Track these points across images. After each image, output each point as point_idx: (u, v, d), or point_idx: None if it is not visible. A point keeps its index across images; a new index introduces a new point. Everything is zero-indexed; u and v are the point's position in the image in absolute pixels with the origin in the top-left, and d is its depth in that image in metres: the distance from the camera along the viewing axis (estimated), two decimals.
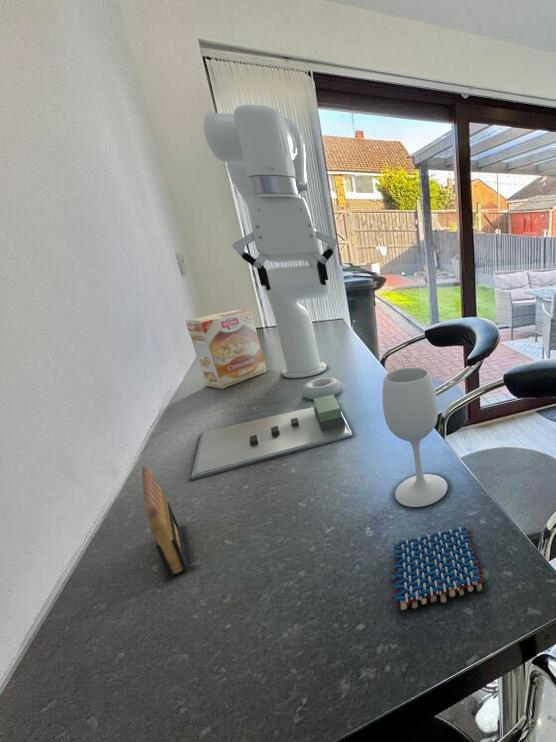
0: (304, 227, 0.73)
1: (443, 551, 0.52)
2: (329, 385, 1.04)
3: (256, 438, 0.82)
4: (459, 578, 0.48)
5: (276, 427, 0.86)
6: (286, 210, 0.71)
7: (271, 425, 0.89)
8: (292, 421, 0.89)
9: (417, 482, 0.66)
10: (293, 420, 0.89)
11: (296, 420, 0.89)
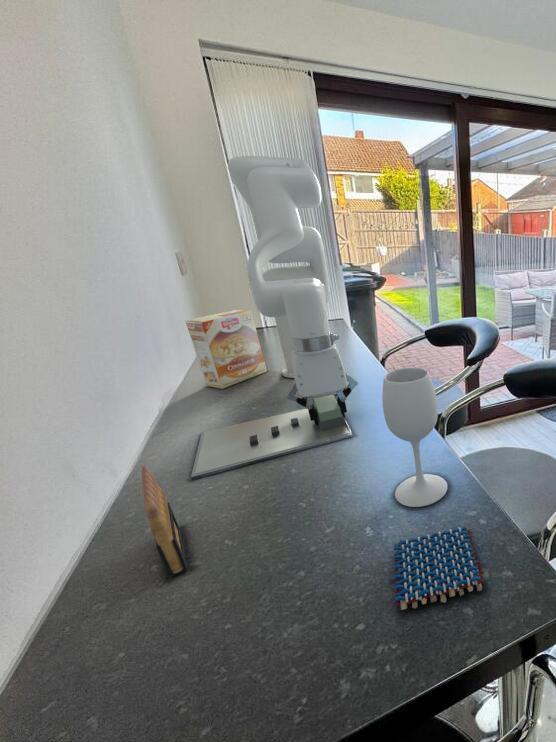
0: (336, 371, 0.87)
1: (443, 551, 0.52)
2: None
3: (256, 438, 0.82)
4: (459, 578, 0.48)
5: (276, 427, 0.86)
6: (323, 361, 0.84)
7: (271, 425, 0.89)
8: (292, 421, 0.89)
9: (417, 482, 0.66)
10: (293, 420, 0.89)
11: (296, 420, 0.89)
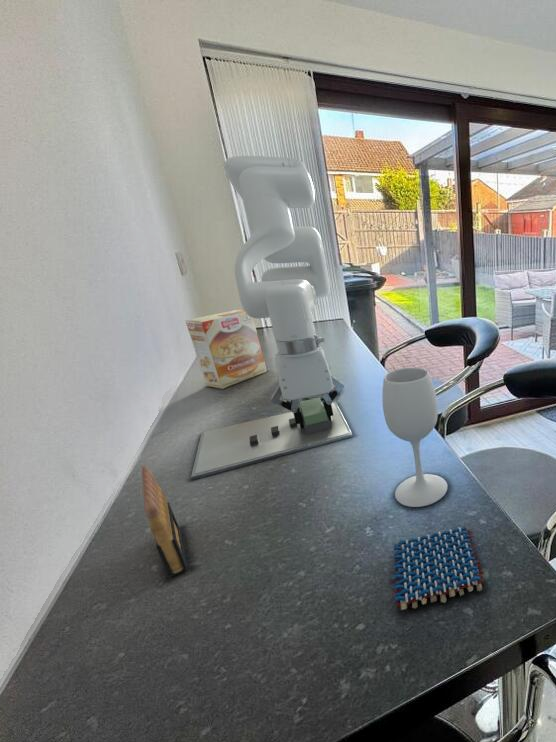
0: (322, 373, 0.85)
1: (443, 551, 0.52)
2: None
3: (256, 438, 0.82)
4: (459, 578, 0.48)
5: (276, 427, 0.86)
6: (307, 363, 0.83)
7: (271, 425, 0.89)
8: (290, 421, 0.89)
9: (417, 482, 0.66)
10: (292, 420, 0.89)
11: (294, 420, 0.89)
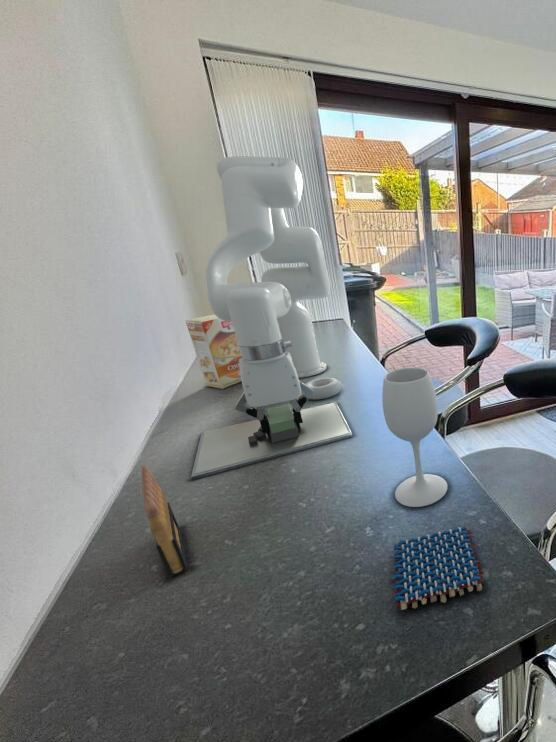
0: (289, 379, 0.82)
1: (443, 551, 0.52)
2: (329, 385, 1.04)
3: (255, 438, 0.82)
4: (459, 578, 0.48)
5: (259, 432, 0.85)
6: (273, 369, 0.80)
7: None
8: None
9: (417, 482, 0.66)
10: None
11: None
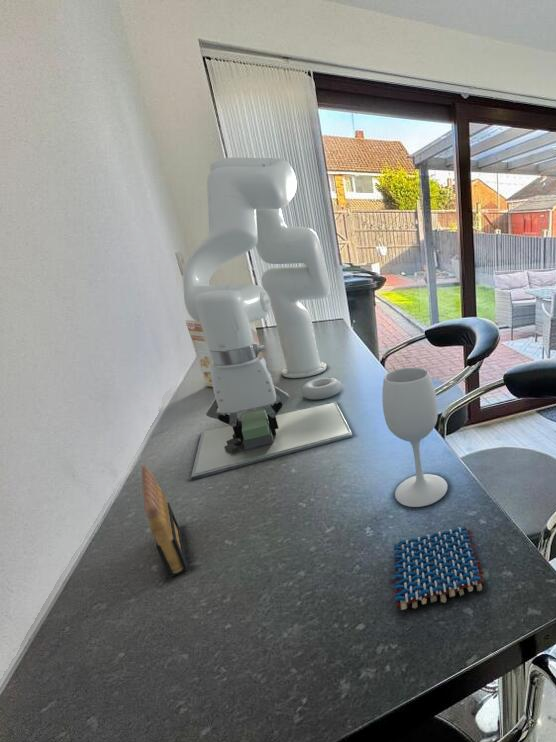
0: (262, 385, 0.80)
1: (443, 551, 0.52)
2: (329, 385, 1.04)
3: (235, 445, 0.80)
4: (459, 578, 0.48)
5: (233, 439, 0.82)
6: (245, 374, 0.78)
7: None
8: None
9: (417, 482, 0.66)
10: None
11: None
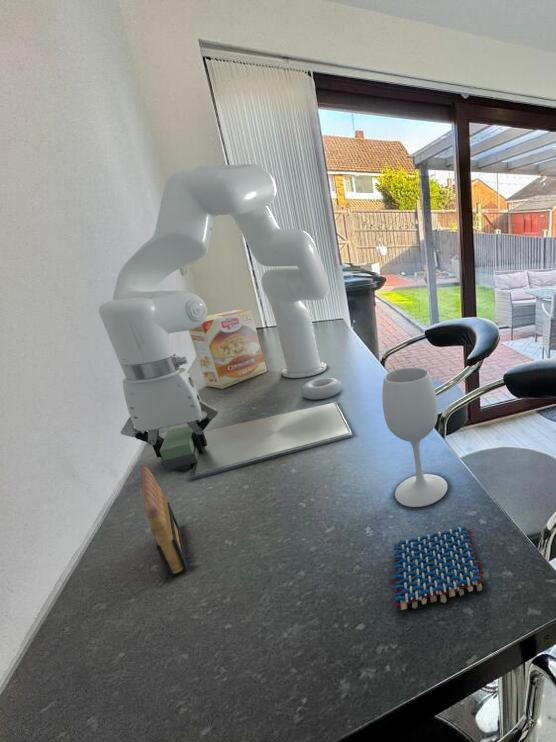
0: (184, 400, 0.74)
1: (443, 551, 0.52)
2: (329, 385, 1.04)
3: None
4: (459, 578, 0.48)
5: None
6: (162, 389, 0.72)
7: (271, 425, 0.89)
8: None
9: (417, 482, 0.66)
10: None
11: None
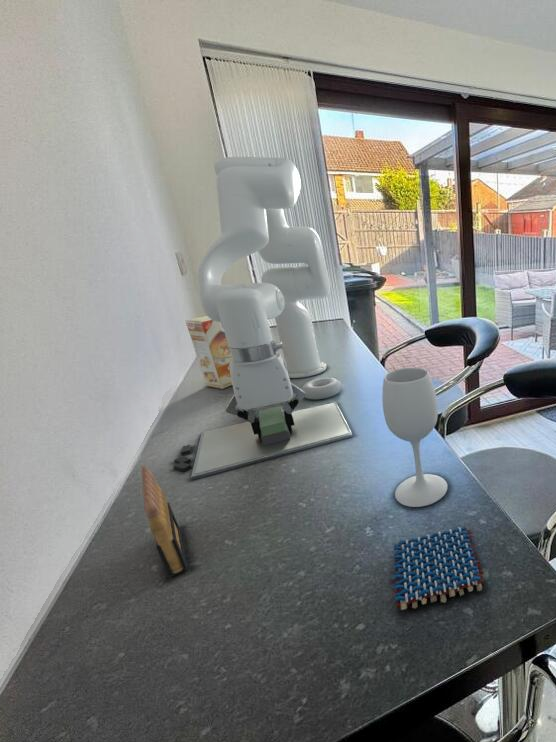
0: (280, 381, 0.81)
1: (443, 551, 0.52)
2: (329, 385, 1.04)
3: (186, 464, 0.75)
4: (459, 578, 0.48)
5: (182, 457, 0.78)
6: (263, 371, 0.79)
7: None
8: None
9: (417, 482, 0.66)
10: None
11: None
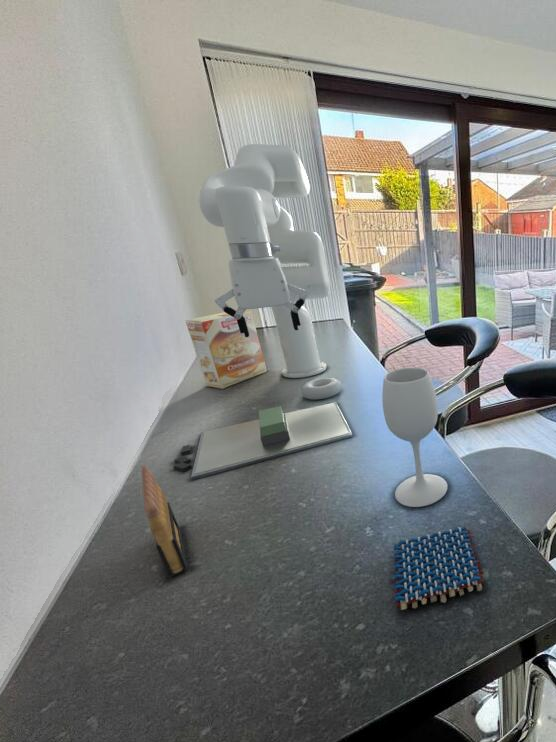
0: (277, 283, 0.85)
1: (443, 551, 0.52)
2: (329, 385, 1.04)
3: (186, 464, 0.75)
4: (459, 578, 0.48)
5: (182, 457, 0.78)
6: (262, 270, 0.82)
7: None
8: None
9: (417, 482, 0.66)
10: None
11: None
